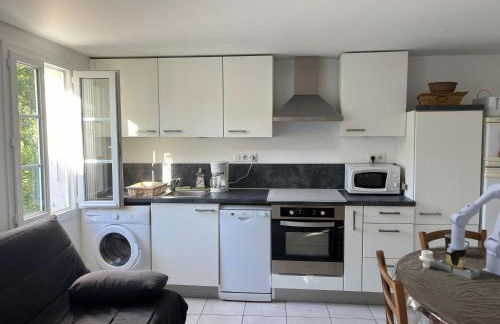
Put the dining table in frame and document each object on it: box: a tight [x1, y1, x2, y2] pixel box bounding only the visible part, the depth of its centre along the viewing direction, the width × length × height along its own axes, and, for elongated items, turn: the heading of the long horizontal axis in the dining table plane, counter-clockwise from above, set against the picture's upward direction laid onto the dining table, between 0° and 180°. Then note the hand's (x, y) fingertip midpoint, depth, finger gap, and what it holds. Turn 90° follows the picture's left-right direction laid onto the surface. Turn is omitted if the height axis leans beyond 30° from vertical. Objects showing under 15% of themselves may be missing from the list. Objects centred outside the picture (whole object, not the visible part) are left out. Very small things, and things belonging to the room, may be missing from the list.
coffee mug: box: [444, 233, 470, 255], centre depth 198 cm, size 12×9×10 cm
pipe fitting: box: [418, 249, 436, 269], centre depth 179 cm, size 6×7×8 cm
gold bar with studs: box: [445, 254, 467, 270], centre depth 175 cm, size 8×3×7 cm, turn 31°
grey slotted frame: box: [433, 258, 481, 280], centre depth 174 cm, size 18×8×3 cm, turn 31°
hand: (456, 264), depth 174 cm, fingers closed on gold bar with studs, 3 cm apart
